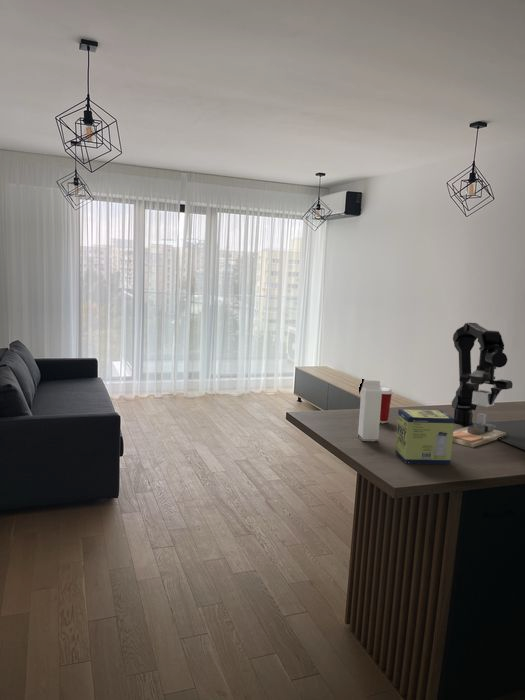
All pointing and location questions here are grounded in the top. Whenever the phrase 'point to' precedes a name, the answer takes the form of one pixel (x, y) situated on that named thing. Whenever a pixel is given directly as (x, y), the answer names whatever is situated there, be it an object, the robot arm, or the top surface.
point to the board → (475, 437)
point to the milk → (370, 410)
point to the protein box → (424, 436)
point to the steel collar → (481, 398)
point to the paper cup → (385, 403)
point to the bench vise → (480, 425)
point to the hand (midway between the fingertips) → (483, 403)
